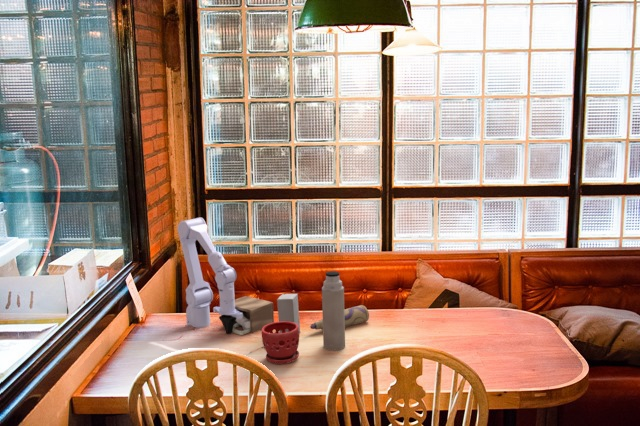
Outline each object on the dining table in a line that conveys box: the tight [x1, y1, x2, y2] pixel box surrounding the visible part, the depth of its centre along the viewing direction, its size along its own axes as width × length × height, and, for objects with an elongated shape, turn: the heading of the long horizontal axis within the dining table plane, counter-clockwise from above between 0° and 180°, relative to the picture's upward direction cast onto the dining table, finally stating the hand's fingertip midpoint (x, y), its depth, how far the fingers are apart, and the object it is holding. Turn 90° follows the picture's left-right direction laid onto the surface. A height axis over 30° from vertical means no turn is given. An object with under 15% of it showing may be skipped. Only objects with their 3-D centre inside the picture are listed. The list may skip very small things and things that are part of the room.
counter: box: [234, 295, 275, 334], centre depth 262 cm, size 15×12×10 cm
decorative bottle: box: [310, 304, 370, 331], centre depth 259 cm, size 26×8×7 cm, turn 122°
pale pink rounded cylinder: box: [242, 320, 250, 330], centre depth 258 cm, size 4×4×6 cm
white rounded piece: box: [235, 315, 249, 327], centre depth 261 cm, size 4×4×6 cm
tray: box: [232, 318, 251, 336], centre depth 259 cm, size 9×13×3 cm
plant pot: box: [260, 321, 300, 365], centre depth 229 cm, size 13×13×12 cm
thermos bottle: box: [321, 270, 346, 351], centre depth 238 cm, size 8×8×28 cm
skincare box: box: [276, 293, 301, 334], centre depth 251 cm, size 8×7×16 cm
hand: (229, 333), depth 254 cm, fingers closed
